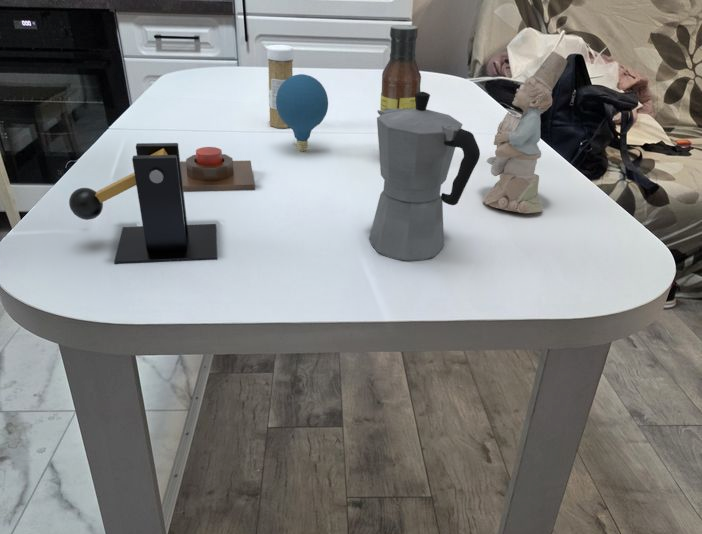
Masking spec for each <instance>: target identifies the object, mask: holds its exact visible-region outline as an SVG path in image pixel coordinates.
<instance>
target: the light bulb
mask: <svg viewBox="0 0 702 534" xmlns="http://www.w3.org/2000/svg"><path fill="white" fill-rule="evenodd" d="M328 97H329V96H328V94H327V90H326V89H325V87H324V86H323V84H322V83H321V82H320V80H318V79H317V78H315V77H313V76H311V75H308V74H304V73H303V74H302V73H301V74H293V76H292V77H290V78H288V79H286V80H285V81H284V82H283V83H282V85H281V86H280V88H279V90H278V92H277V96H276V108H277V111H278V114H279V116H280V117H281V119H282V120H283V121H284V123H285V124H287V125H288V126H289V127H288V128H290V129H291V130H292V132H293V135H294V138H295V140H296V149H297V150H298V151H299V152H306V151H307V150H308V149H309V146H308V145H309V144H308V143H309V142H308V140H309V139H310V137H311V133H312V131H313V130H314V129H315V128H316V127H317V126H319V125H321V123H322V122H323V120H324V119H325V117H326V116H327V112H328V108H329V98H328Z"/></svg>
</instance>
